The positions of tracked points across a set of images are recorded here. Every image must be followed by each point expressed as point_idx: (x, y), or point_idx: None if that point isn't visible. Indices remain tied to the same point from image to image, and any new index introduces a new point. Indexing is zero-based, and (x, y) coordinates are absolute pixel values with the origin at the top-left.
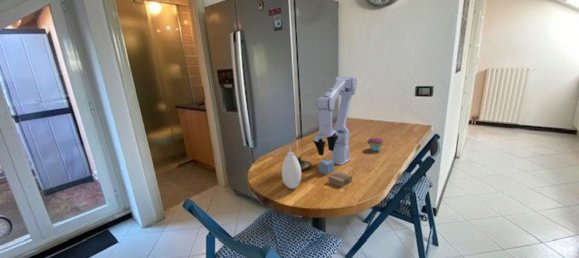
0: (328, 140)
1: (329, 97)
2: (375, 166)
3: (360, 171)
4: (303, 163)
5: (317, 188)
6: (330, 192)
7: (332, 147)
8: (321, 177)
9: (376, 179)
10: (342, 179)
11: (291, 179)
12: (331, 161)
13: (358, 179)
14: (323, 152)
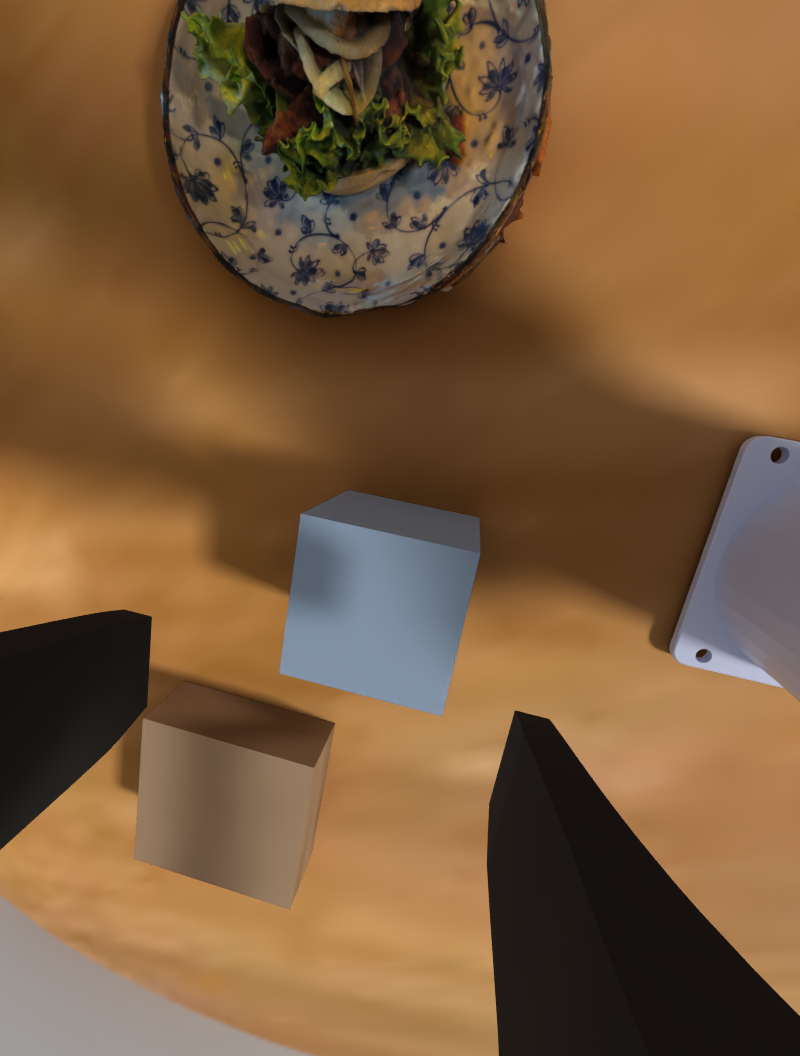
0: (594, 1049)
1: None
2: (794, 1001)
3: None
4: (380, 169)
5: None
6: None
7: (494, 897)
8: (235, 578)
9: (453, 1016)
10: (164, 851)
11: None
12: (421, 681)
13: (378, 893)
14: (81, 766)
